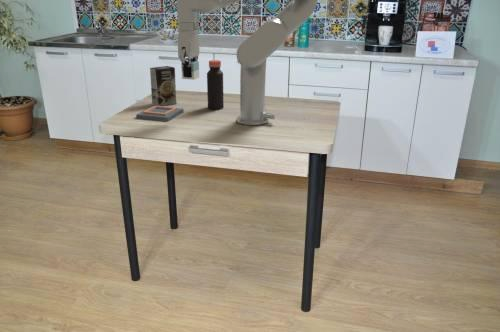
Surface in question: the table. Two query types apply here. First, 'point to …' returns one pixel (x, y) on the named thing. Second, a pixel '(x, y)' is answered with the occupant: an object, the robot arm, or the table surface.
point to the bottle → (215, 85)
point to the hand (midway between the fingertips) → (190, 75)
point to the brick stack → (194, 69)
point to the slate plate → (160, 113)
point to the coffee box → (163, 85)
